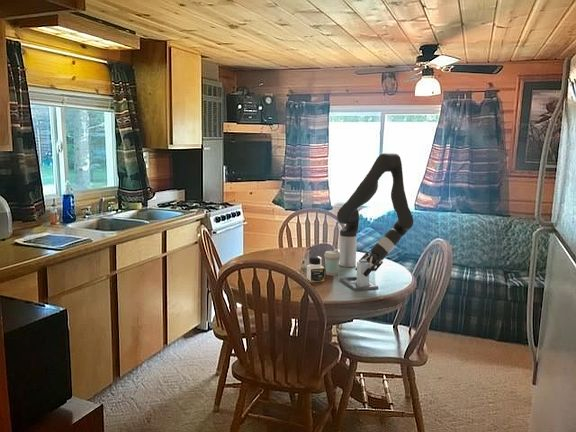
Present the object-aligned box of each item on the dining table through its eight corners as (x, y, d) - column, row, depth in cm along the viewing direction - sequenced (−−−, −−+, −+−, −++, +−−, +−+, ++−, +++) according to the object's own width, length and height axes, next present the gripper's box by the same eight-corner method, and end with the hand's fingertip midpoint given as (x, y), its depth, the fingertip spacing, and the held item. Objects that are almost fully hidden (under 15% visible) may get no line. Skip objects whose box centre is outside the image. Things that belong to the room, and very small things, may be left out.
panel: (339, 280, 240) (339, 277, 240) (361, 278, 244) (361, 276, 244) (355, 291, 224) (355, 288, 223) (378, 289, 227) (378, 286, 227)
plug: (356, 286, 231) (357, 259, 229) (364, 285, 232) (365, 258, 230) (360, 288, 227) (361, 261, 225) (368, 288, 228) (369, 261, 226)
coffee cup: (339, 277, 247) (339, 254, 245) (322, 276, 249) (323, 253, 247) (340, 272, 255) (341, 250, 254) (324, 271, 257) (325, 250, 255)
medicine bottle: (310, 282, 237) (311, 258, 236) (306, 278, 244) (306, 255, 242) (324, 281, 239) (324, 258, 238) (319, 277, 246) (320, 254, 244)
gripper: (370, 240, 235) (349, 264, 234) (385, 246, 222) (362, 272, 220) (380, 250, 238) (358, 274, 236) (395, 256, 224) (372, 282, 223)
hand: (360, 273), depth 228 cm, fingers open, 8 cm apart
